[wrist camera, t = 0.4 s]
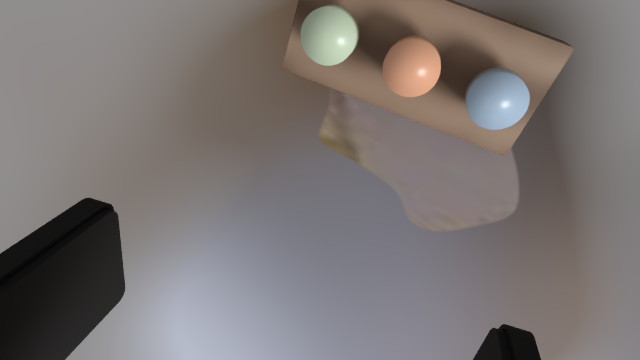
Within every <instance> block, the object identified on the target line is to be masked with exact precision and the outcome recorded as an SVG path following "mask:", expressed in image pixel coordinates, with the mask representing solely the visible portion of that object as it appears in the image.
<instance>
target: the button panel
mask: <svg viewBox="0 0 640 360" xmlns="http://www.w3.org/2000/svg"><path fill="white" fill-rule="evenodd" d="M331 4H335V5H340V6H343V7H345V8H346V9H348V10H349V11H350V12H351V13H352V14H353V15H354V17H355V18H356V20H357V23H358V26H359V40H358V44H357V46H356V48H355V49H354V51H353V52H352V53H351V54H350V55H349V56H348V57H347V58H346V59H345V60H344V61H343V62H341V63H339V64H336V65H332V66H325V65H321V64H318V63H316V62H314V61H313V60H312V59H310V58H309V56H308V55H307V54H306V53H305V51H304V49H303V46H302V43H301V27H302V24H303V22H304V20H305V19H306V17H307V16H308V15H309V14H310V13H311V12H312V11H314V10H316V9H318V8H320V7H323V6H326V5H331ZM412 35H417V36H422V37H425V38H427V39H429V40H430V41H432V42H433V43H434V44H435V46H436V47H437V49H438V51H439V54H440V58H441V71H440V76H439V78H438V80H437V82H436V84H435V85H434V86H433V88H432V89H430V90H429V91H428V92H426V93H425V94H423V95H420V96H417V97H403V96H400V95H398V94H396V93H394V92H393V91H392V90H391V89H390V88H389V87H388V86H387V84H386V82H385V80H384V77H383V71H382V69H383V62H384V59H385V57H386V55H387V53H388V51H389V50H390V48H391V47H392V46H393V45H394V44H395V43H396V42H397V41H398V40H400V39H402V38H404V37H407V36H412ZM574 49H575V48H574V47H572V46H571V45H569V44H567V43H566V42H564V41H561V40H559V39H556V38H553V37H550V36H548V35H545V34H542V33H540V32H537V31H534V30H531V29H529V28H526V27H523V26H521V25H518V24H515V23H513V22H510V21H507V20H504V19H502V18H499V17H496V16H493V15H491V14H488V13H485V12H483V11H480V10H477V9H475V8H472V7H469V6H466V5H464V4H461V3H458V2H455V1H453V0H299V2H298V6H297V10H296V14H295V18H294V22H293V25H292V30H291V34H290V37H289V41H288V45H287V49H286V53H285V58H284V61H283V65H282V69H284V70H287V71H289V72H292V73H295V74H297V75H299V76H302V77H305V78H307V79H310V80H313V81H315V82H317V83H320V84H322V85H325V86H327V87H330V88H333V89H335V90H338V91H340V92H343V93H345V94H348V95H350V96H353V97H355V98H358V99H361V100H363V101H366V102H368V103H371V104H373V105H376V106H378V107H381V108H383V109H386V110H389V111H391V112H394V113H396V114H399V115H401V116H404V117H406V118H409V119H411V120H414V121H417V122H419V123H422V124H424V125H427V126H429V127H432V128H434V129H437V130H439V131H442V132H445V133H447V134H450V135H452V136H455V137H457V138H460V139H462V140H465V141H467V142H470V143H473V144H475V145H478V146H480V147H483V148H485V149H488V150H490V151H493V152H495V153H498V154H501V155H503V156H506V155H507V153H508V151H509V150H510V148H511V147H512V145H513V144H514V142H515V141H516V139H517V137H518V136H519V134H520V133H521V131H522V130H523V128H524V127H525V125H526V123H527V122H528V120H529V119H530V117H531V116H532V114H533V113H534V111H535V109H536V108H537V106H538V105H539V103H540V102H541V100H542V99H543V97H544V96H545V94H546V92H547V91H548V89H549V88H550V86H551V85H552V83H553V82H554V80H555V78H556V77H557V75H558V74H559V72H560V71H561V69H562V68H563V66H564V64H565V63H566V61H567V60H568V58H569V57H570V55H571V54H572V52H573V50H574ZM495 67H502V68H507V69H510V70H512V71H514V72H515V73H517V74H518V75H519V76H520V78H521V79H522V80H523V82H524V83H525V85H526V86H527V88H528V90H529V94H530V102H529V106H528V109H527V111H526V113H525V114H524V116H523V117H522V118H521V119H520V120H519V121H518V122H516V123H515V124H513V125H512V126H510V127H507V128H504V129H499V130H490V129H485V128H482V127H480V126H479V125H477V124H476V123H474V122H473V120H472V119H471V118H470V116H469V114H468V111H467V106H466V101H465V94H466V90H467V87H468V85H469V83H470V82H471V80H472V79H473V78H474V77H475V76H476V75H478V74H479V73H481V72H482V71H484V70H487V69H490V68H495Z"/></svg>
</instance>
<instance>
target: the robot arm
mask: <svg viewBox="0 0 640 360" xmlns="http://www.w3.org/2000/svg"><path fill="white" fill-rule="evenodd" d="M124 292H125V280H124V270H123V260H122V251H121V240H120V231H119V220H118V214H117V213H116V212H114V209H113V206H112V205H111V204H108V203H105V202H102V201H98V200H95V199H92V198H85V199H83V200H81V201H80V202H78V203H77V204H75V205H74V206H72V207H70V208H69V209H68V210H66V211H65V212H63V213H61V214H60V215H58V216H57V217H55V218H54V219H52V220H51V221H49V222H48V223H46V224H45V225H43V226H42V227H40V228H39V229H37V230H36V231H34V232H32V233H31V234H29V235H28V236H26V237H25V238H23V239H22V240H20V241H19V242H17V243H16V244H14V245H13V246H11V247H10V248H9V249H7V250H5V251H4V252H2V253H1V254H0V360H65V359H66V358H67V357H68V356H69V355H70V354H71V352H72V351H73V350H74V349H75V348H76V347H77V346H78V345H79V344H80V343H81V342H82V341H83V340H84V338H86V336H87V335H88V334H89V333H90V332H91V331H92V330H93V329H94V328H95V327H96V326H97V325H98V324H99V323H100V322H101V321H102V320H103V318H104V317H105V316H106V315H107V314H108V313H109V312H110V311H111V310H112V309H113V308H114V307H115V306H116V304H118V302H119V301H120V300H121V298H122V296H123V295H124ZM473 360H541V358H540V355H539V351H538V348H537V345H536V341H535V338H534V336H533V334H532V333H531V332H529V331H525V330H522V329H519V328H515V327H512V326H509V325H506V324H503V325H501V326H500V328H499V329H496V328H492V329H491V330H490V331H489V333H488V335H487V336H486V338H485V340H484V342H483V343H482V345H481V347H480V349H479V350H478V352H477V354H476V355H475V357H474V359H473Z"/></svg>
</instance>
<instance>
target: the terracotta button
mask: <svg viewBox="0 0 640 360" xmlns="http://www.w3.org/2000/svg"><path fill="white" fill-rule="evenodd" d="M382 71H383V77H384V80H385V82H386V84H387V86H388V87H389V88H390V89H391V90H392V91H393V92H394V93H396V94H398V95H400V96H403V97H417V96H420V95H423V94H425V93H426V92H428V91H429V90H430V89H432V88H433V86H434V85H435V84H436V82H437V80H438V78H439V76H440V71H441V58H440V54H439V51H438V49H437V47H436V46H435V44H434V43H433V42H432V41H430V40H429V39H427V38H425V37H422V36H417V35H412V36H407V37H404V38H402V39H400V40H398V41H397V42H396V43H395V44H394V45H393V46H392V47H391V48H390V50H389V51H388V53H387V55H386V57H385V59H384V62H383V69H382Z"/></svg>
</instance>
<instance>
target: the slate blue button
mask: <svg viewBox="0 0 640 360" xmlns="http://www.w3.org/2000/svg"><path fill="white" fill-rule="evenodd" d="M465 101H466V106H467V111H468V114H469V116H470V118H471V119H472V120H473V122H474V123H476V124H477V125H479V126H480V127H482V128H485V129H490V130H499V129H504V128H507V127H510V126H512V125H513V124H515V123H516V122H518V121H519V120H520V119H521V118H522V117H523V116H524V114H525V113H526V111H527V109H528V106H529V102H530V94H529V90H528V88H527V86H526V85H525V83H524V82H523V80H522V79H521V78H520V76H519V75H518V74H517V73H515V72H514V71H512V70H510V69H507V68H502V67H495V68H490V69H487V70H484V71H482V72H481V73H479V74H478V75H476V76H475V77H474V78H473V79H472V80H471V82H470V83H469V85H468V87H467V90H466V94H465Z"/></svg>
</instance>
